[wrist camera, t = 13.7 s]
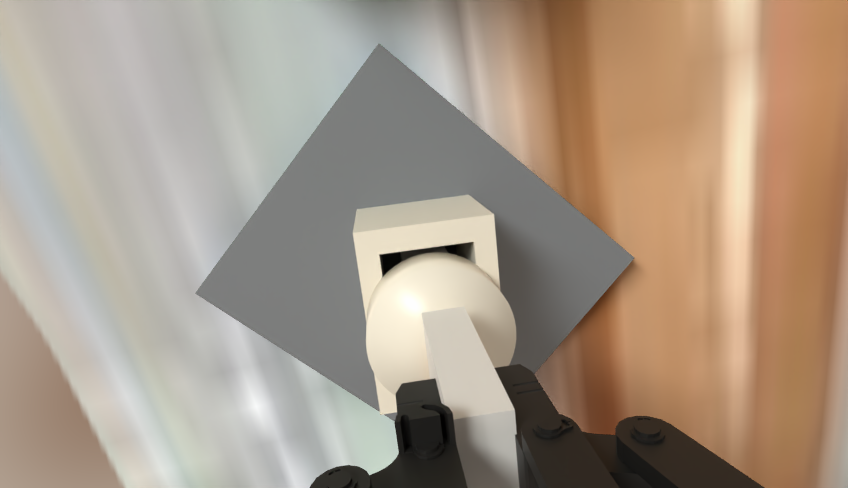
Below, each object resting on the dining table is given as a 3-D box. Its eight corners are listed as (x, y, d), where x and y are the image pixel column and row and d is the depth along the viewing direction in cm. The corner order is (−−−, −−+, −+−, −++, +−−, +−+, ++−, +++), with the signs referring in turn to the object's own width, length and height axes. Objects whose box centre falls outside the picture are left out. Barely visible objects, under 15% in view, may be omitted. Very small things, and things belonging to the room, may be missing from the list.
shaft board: (378, 46, 25) (380, 23, 19) (623, 252, 28) (691, 287, 22) (202, 285, 27) (153, 334, 21) (454, 448, 30) (475, 529, 24)
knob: (356, 209, 25) (349, 249, 17) (468, 194, 26) (512, 228, 18) (378, 357, 27) (381, 454, 19) (482, 341, 28) (526, 430, 20)
